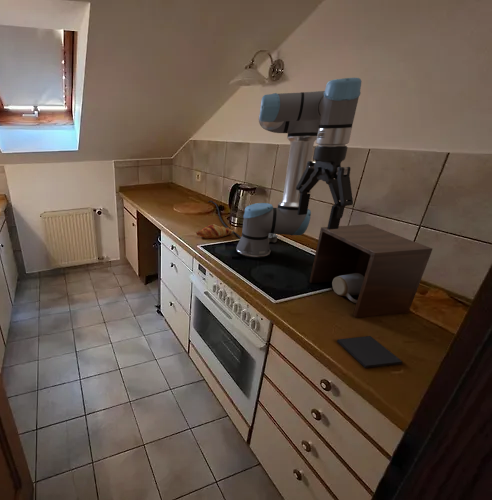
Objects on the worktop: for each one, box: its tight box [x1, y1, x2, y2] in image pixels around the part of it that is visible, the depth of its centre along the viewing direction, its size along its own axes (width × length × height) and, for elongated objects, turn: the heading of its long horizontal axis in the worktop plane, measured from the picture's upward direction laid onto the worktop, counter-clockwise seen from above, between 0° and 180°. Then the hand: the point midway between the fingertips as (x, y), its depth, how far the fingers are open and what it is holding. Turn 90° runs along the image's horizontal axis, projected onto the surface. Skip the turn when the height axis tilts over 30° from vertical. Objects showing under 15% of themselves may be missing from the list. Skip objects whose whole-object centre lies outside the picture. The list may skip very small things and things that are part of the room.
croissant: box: [195, 224, 234, 239], centre depth 163 cm, size 21×10×8 cm, turn 101°
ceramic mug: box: [331, 273, 364, 304], centre depth 103 cm, size 11×8×8 cm
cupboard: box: [309, 223, 433, 318], centre depth 101 cm, size 23×18×22 cm
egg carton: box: [268, 233, 279, 243], centre depth 156 cm, size 11×8×4 cm
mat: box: [336, 335, 403, 369], centre depth 79 cm, size 10×10×1 cm
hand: (316, 221), depth 88 cm, fingers open, 13 cm apart
